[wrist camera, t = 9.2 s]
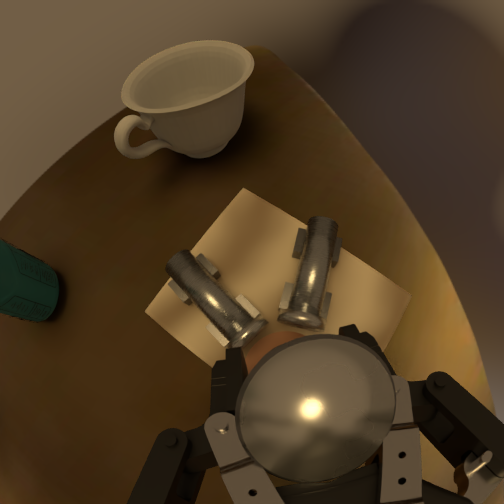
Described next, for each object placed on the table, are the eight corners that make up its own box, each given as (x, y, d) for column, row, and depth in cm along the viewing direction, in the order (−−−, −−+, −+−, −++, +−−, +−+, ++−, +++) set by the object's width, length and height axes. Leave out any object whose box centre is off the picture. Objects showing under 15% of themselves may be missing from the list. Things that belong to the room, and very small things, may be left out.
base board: (148, 314, 22) (142, 313, 21) (244, 193, 26) (243, 187, 25) (320, 437, 18) (322, 441, 17) (406, 297, 22) (412, 295, 21)
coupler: (239, 387, 16) (200, 433, 6) (283, 328, 17) (300, 300, 7) (300, 426, 14) (333, 504, 5) (343, 367, 16) (425, 380, 6)
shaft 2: (319, 333, 20) (330, 330, 17) (274, 323, 21) (276, 317, 17) (338, 240, 23) (350, 220, 19) (298, 230, 23) (303, 208, 20)
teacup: (117, 178, 28) (74, 119, 18) (197, 97, 32) (181, 35, 22) (198, 225, 25) (162, 157, 16) (278, 124, 29) (279, 51, 20)
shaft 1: (269, 324, 21) (270, 319, 17) (236, 356, 20) (229, 358, 16) (201, 254, 23) (189, 237, 19) (170, 284, 22) (152, 271, 19)
